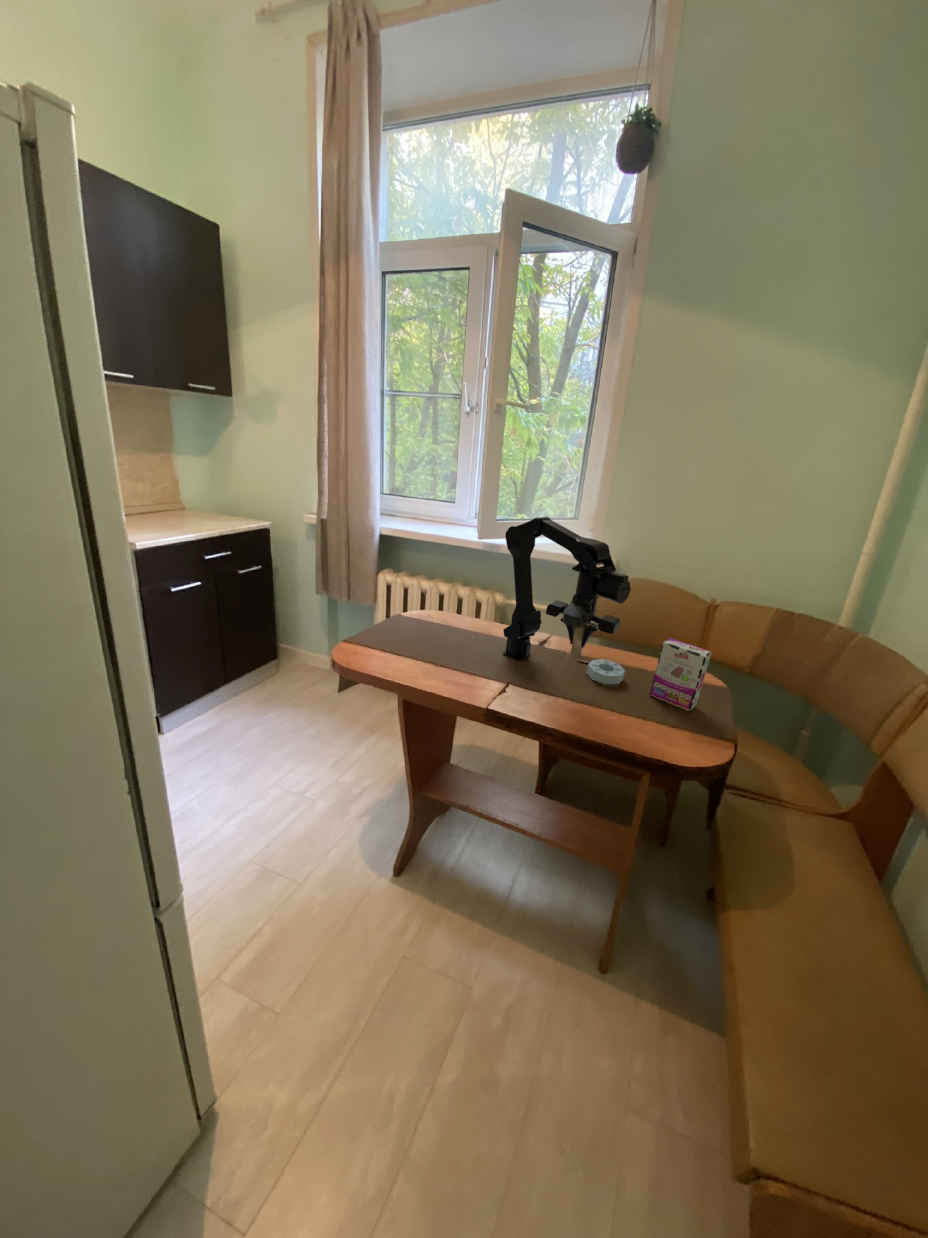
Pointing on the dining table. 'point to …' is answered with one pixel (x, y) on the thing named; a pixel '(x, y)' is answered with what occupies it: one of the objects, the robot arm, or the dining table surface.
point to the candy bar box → (680, 673)
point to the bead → (605, 671)
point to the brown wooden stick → (583, 661)
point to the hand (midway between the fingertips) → (577, 645)
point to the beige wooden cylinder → (578, 641)
